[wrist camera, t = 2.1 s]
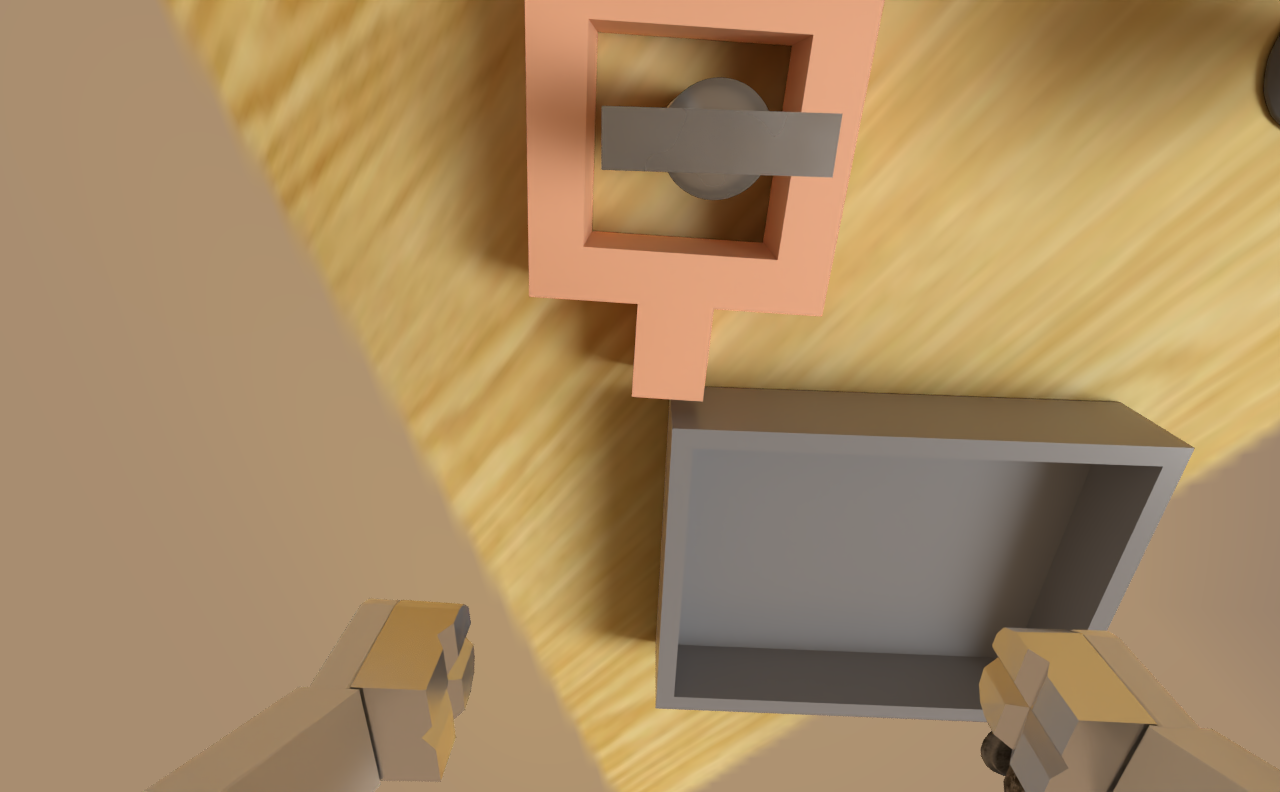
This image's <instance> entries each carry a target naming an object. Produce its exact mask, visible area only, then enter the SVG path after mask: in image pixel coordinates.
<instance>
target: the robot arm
mask: <svg viewBox="0 0 1280 792" xmlns="http://www.w3.org/2000/svg"><path fill="white" fill-rule="evenodd" d="M470 624H471V621H470V614H469V608H468V606H466V605H464V604H454V603H440V602H426V601H412V600H401V601H400V600H387V599H373V598H369V599H368V600H366V601H365V602H364V603H362V604H361V605H360V606H359V608H358V610H357V611H356V613H355V614H354V616H353V618H352V619H351V621H350V623H349V624H348V626H347V627H346V629H345V631H344V632H343V634H342V635H341V637H340V639H339V640H338V642H337V644H336V645H335V647H334V648H333V650H332V651H331V653H330V654H329V656H328V658H327V659H326V661H325V663H324V664H323V666H322V667H321V669H320V670H319V672H318V674H317V675H316V677H315V679H314V680H313V682H312V683H311V685H310V687H298V688H296V689H295V690H293V691H292V692H290V693H289V694H287V695H286V696H284V697H283V698H281V699H280V700H278V701H277V702H275V703H274V704H272V705H271V706H269V707H268V708H266V709H265V710H263V711H262V712H260V713H259V714H257V715H256V716H254V717H253V718H252V719H250V720H249V721H247V722H246V723H244V724H243V725H241V726H240V727H238V728H237V729H235V730H234V731H232V732H231V733H229V734H228V735H226V736H225V737H223V738H222V739H220V740H219V741H217V742H216V743H214V744H213V745H211V746H210V747H209V748H207V749H205V750H204V751H202V752H201V753H200V754H198V755H197V756H195V757H193V758H192V759H191V760H189V761H188V762H186V763H185V764H183V765H182V766H180V767H179V768H177V769H176V770H175V771H173V772H171V773H170V774H169V775H167V776H165V777H164V778H163V779H161V780H159V781H158V782H156V783H155V784H153V785H152V786H150V787H149V788H147V789H146V790H144V791H143V792H374V791H375V790H376V789H377V788H378V787H379V786H380V781H435V782H441V780H442V777H443V774H444V771H445V768H446V765H447V762H448V759H449V756H450V753H451V750H452V747H453V744H454V741H455V738H456V735H455V727H454V719H455V718H456V717H457V716H458V715H460V714H461V713H462V712H463V711H464V710H465V708H466V705H467V701H468V699H469V695H470V692H471V686H472V681H473V675H474V657H475V656H474V646H473V644H472V643H471V642H470V641H469V640H468V639H467V638H466V635H467V632H468V629H469V627H470ZM992 647H993V649H994V651H995V652H996V654H997V656H998V658H996V659H995V660H994V661H992V662H991V663H990V664H988V665H987V666H986V667H984V669H983V673H982V676H981V679H980V682H979V691H980V703H981V707H982V710H983V713H984V716H985V719H986V721H987V722H988V724H989V726H990V728H991V730H992V732H993V734H994V735H995V736H996V737H998V738H999V739H1000V740H1001V741H1003V742H1004V743H1005V744H1006V745H1008V746H1009V747H1010V748H1011V749H1012V753H1011V759H1010V765H1011V767H1012V769H1013V770H1014V772H1015V774H1016V776H1017V778H1018V779H1019V781H1020V783H1021V785H1022V787H1023V789H1024V790H1025V792H1280V770H1279V769H1277V768H1276V767H1274V766H1272V765H1271V764H1269V763H1268V762H1266V761H1264V760H1263V759H1261V758H1259V757H1258V756H1256V755H1254V754H1252V753H1251V752H1249V751H1248V750H1246V749H1244V748H1243V747H1241V746H1240V745H1238V744H1236V743H1234V742H1233V741H1231V740H1230V739H1228V738H1226V737H1225V736H1223V735H1221V734H1220V733H1218V732H1216V731H1215V730H1213V729H1208V728H1200V727H1199V726H1198V725H1197V724H1196V723H1195V721H1194V720H1193V719H1192V718H1191V717H1190V716H1189V715H1188V714H1187V713H1186V712H1185V710H1184V709H1183V708H1182V707H1181V706H1180V705H1179V704H1178V703H1177V702H1176V700H1175V699H1174V698H1173V697H1172V696H1171V695H1170V694H1169V693H1168V692H1167V690H1166V689H1165V688H1164V687H1163V686H1162V685H1161V684H1160V683H1159V681H1158V680H1157V679H1156V678H1155V677H1154V676H1153V675H1152V674H1151V672H1150V671H1149V670H1148V669H1147V668H1146V667H1145V666H1144V665H1143V664H1142V662H1141V661H1140V660H1139V659H1138V658H1137V657H1136V656H1135V655H1134V654H1133V653H1132V651H1131V650H1130V649H1129V648H1128V647H1127V646H1126V645H1125V644H1124V643H1123V641H1122V640H1121V639H1120V638H1118V637H1117V636H1115V635H1114V634H1112V633H1111V632H1109V631H1100V630H1065V629H1036V628H1007V627H1004V628H1003V629H1002V630H1001V631H999V632H998V633H997V634H996V637H995V640H994V642H993V645H992Z"/></svg>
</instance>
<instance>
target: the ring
mask: <svg viewBox="0 0 1280 792" xmlns="http://www.w3.org/2000/svg"><path fill="white" fill-rule="evenodd" d="M883 6H884V0H525V51H526V117H527V182H528V248H529V297H542V298H557V299H572V300H587V301H601V302H616V303H631V304H638V307H637V323H636V339H635V355H634V371H633V387H632V397H642V398H657V399H672V400H687V401H702V402H703V396H704V388H705V379H706V371H707V362H708V354H709V345H710V337H711V329H712V320H713V312H714V309H720V310H734V311H749V312H764V313H779V314H794V315H808V316H822V314H823V308H824V303H825V298H826V293H827V288H828V283H829V278H830V273H831V268H832V263H833V258H834V253H835V248H836V243H837V238H838V233H839V228H840V223H841V218H842V213H843V207H844V202H845V197H846V192H847V187H848V182H849V177H850V172H851V167H852V162H853V157H854V152H855V147H856V142H857V137H858V132H859V127H860V122H861V117H862V112H863V106H864V101H865V96H866V91H867V86H868V81H869V76H870V71H871V66H872V61H873V56H874V51H875V46H876V41H877V36H878V31H879V26H880V21H881V16H882V11H883ZM598 32H604V33H618V34H632V35H647V36H661V37H675V38H689V39H704V40H718V41H732V42H746V43H761V44H775V45H789V46H792V49H791V56H790V63H789V69H788V76H787V83H786V90H785V97H784V103H783V110H782V112H807V113H837V114H842V121H841V127H840V134H839V140H838V146H837V153H836V159H835V166H834V172H833V178H832V177H802V176H773V178H772V185H771V192H770V199H769V205H768V212H767V219H766V226H765V233H764V239H763V243H761V242H746V241H732V240H717V239H702V238H688V237H673V236H659V235H644V234H629V233H615V232H600V231H592V213H593V178H594V143H595V108H596V73H597V38H598Z"/></svg>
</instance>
